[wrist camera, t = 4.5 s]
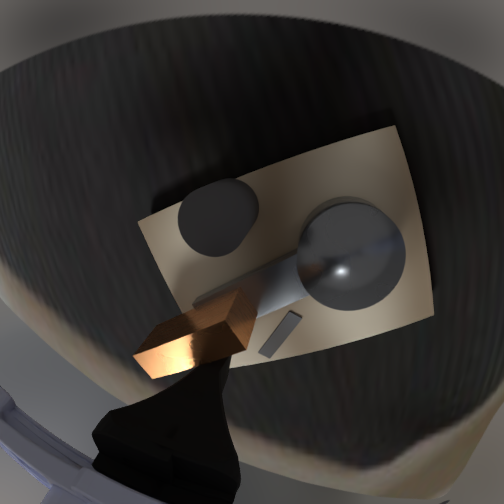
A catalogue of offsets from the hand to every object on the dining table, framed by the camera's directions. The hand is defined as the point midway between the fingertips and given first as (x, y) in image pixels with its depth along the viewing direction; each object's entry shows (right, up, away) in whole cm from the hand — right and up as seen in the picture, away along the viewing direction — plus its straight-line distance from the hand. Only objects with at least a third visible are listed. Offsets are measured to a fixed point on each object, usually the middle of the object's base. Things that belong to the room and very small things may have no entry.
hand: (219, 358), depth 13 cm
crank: (+2, +4, 0) cm, 4 cm away
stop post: (+1, +7, 0) cm, 7 cm away
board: (+4, +5, 0) cm, 6 cm away
